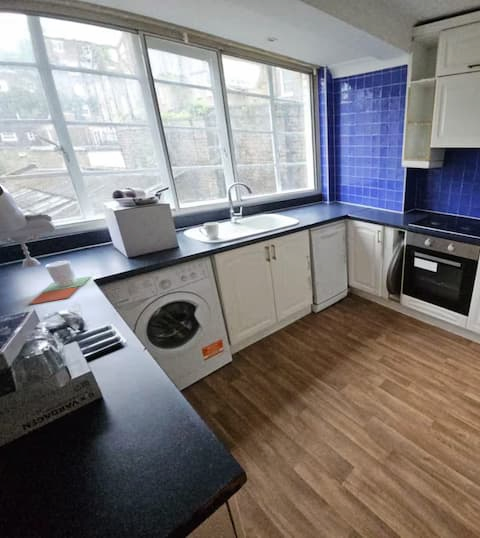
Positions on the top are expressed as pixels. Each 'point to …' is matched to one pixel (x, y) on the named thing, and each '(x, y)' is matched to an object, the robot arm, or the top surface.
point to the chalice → (26, 252)
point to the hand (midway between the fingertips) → (22, 240)
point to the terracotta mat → (54, 295)
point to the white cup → (61, 273)
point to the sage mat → (78, 284)
